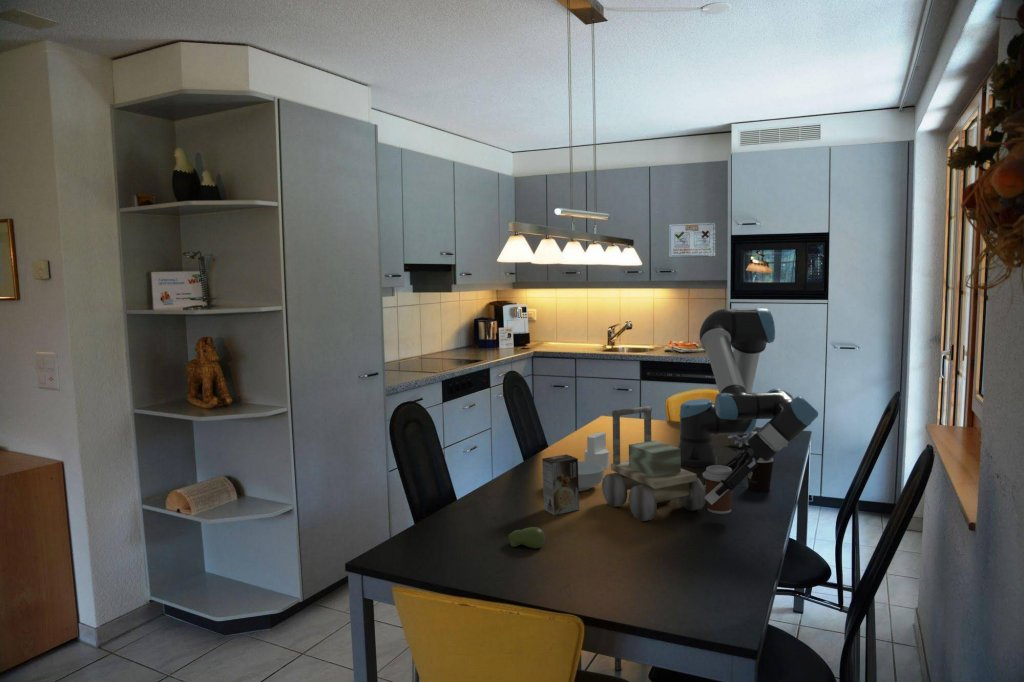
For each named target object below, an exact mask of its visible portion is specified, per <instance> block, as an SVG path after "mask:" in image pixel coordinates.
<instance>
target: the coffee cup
mask: <svg viewBox="0 0 1024 682" xmlns="http://www.w3.org/2000/svg"><path fill="white" fill-rule="evenodd" d="M731 473H732V469H731V468H730V467H727V466H724V465H720V464H716V465H712V466H708V467H705V471H703V472H702V478H704V482H705V483H704V484H705V485H706V489H705V492H706V495H707V494H708V493H709V492H711V491H712V490H713V489H714V488H715V487H716V486H717V485H718V484H720V483H721V480H724V481H725V479H726V478H727V477H728V476H729V475H730V474H731ZM733 493H734V489H733V490H731V489H730V490H728V491H727V492H726V493H725V494H724V495H722V496H721V497H720V498H719V499H718V500H717V501H716V502H714V503H713V504H712V505H711V504H710V503H709V502H708V501H707V500H706V506H707V508H706V509H707V511H708V512H710V513H713V514H720V515H721V514H722V515H723V514H729V513H731V512H732V502H733Z"/></svg>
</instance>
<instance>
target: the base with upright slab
mask: <svg viewBox="0 0 1024 682" xmlns="http://www.w3.org/2000/svg"><path fill="white" fill-rule="evenodd" d="M606 438H607V436H606V433H605V432H602V431H601V432H600V431H599V432H596V433H593V434H591V435H588V436H586V442H587V443H586V446H587V447H586V449H585V450H584V462H592V463H597V464H599V465H601V466H603V468H604V470H607V469H609V467H610V451H609V449H607V439H606Z"/></svg>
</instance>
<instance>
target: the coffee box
mask: <svg viewBox="0 0 1024 682" xmlns="http://www.w3.org/2000/svg"><path fill="white" fill-rule="evenodd" d="M541 459H542V462H541V463H542V484H543V485H542V486H543V487H542V490H543V491H542V492H543V510H544V511H545V512H548V513H550V514H551V515H553V516H557V515H562V514H566V513H571V512H576V511H579V510H580V494H579V493H580V491H579V483H578V461H579V460H578V459H579V458H578V457H575V456H572V455H569V454H562V455H561V454H560V455H554V456H549V457H545V458H544V457H543V458H541Z"/></svg>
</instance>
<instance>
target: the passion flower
mask: <svg viewBox="0 0 1024 682" xmlns="http://www.w3.org/2000/svg"><path fill="white" fill-rule="evenodd" d="M756 428H757V425H755V428H754V430H753V431H752V432H751V433H749V434H742V435H727V437H726V438H727V439H733V440H734V442H733V444H734V446H735V445H738V448H742V447H743V445H744V444H745V446H746V447H747V446H749V444H748V442H747V441H748V440H749V439H750V438H751V437H752V436H753V435H754V434H758V433H759V430H755V429H756Z"/></svg>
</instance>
